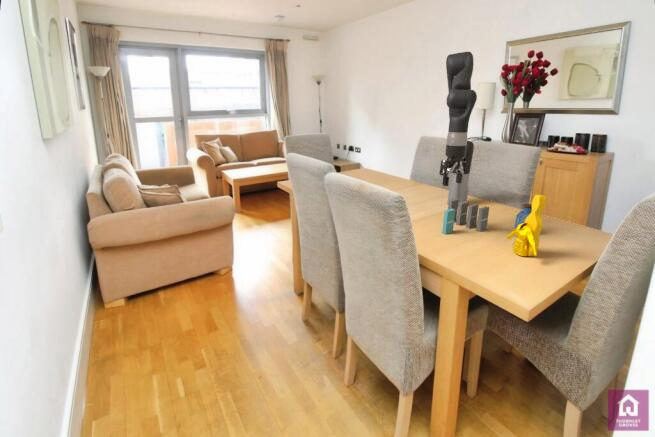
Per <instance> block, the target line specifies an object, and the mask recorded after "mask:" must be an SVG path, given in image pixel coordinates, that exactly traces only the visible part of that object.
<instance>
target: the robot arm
mask: <svg viewBox="0 0 655 437" xmlns="http://www.w3.org/2000/svg"><path fill="white" fill-rule="evenodd" d="M445 65H446V66H445V68H446V78H447V80H446V81H447V89H448V94H447V96H446V106H447V108H448V117H449V122H448V130H447V131H448V132H447V136H446V144H445V156H446V157H447V158H446V159H441V161H440V168H439V174H438V175H439V176H441V177H442V186H444V187H448V194H447V205H448V204H449V201H450V200H453V199H458V200H459V201H458V204H459V203H461V202H464V201H466V202H468V195H469V181H470V173H471V167H472V161H473V156H474V151H475V150H474V149H475V145H474V142H473V141H470V140H468V132H469V131H468V130H469V122H470V118H471V116H472V112H473V110H474V108H475V106H476V105H475V104H476V102H477V100H478V99H477V98H478V96H477V92H476V91H475V90H474V89H472V83H471V82H472V81H471V80H472V76H473V72H474V54H473V52H471V51H461V52H457V53H451V54H448V55H447V56H446V62H445Z"/></svg>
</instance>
